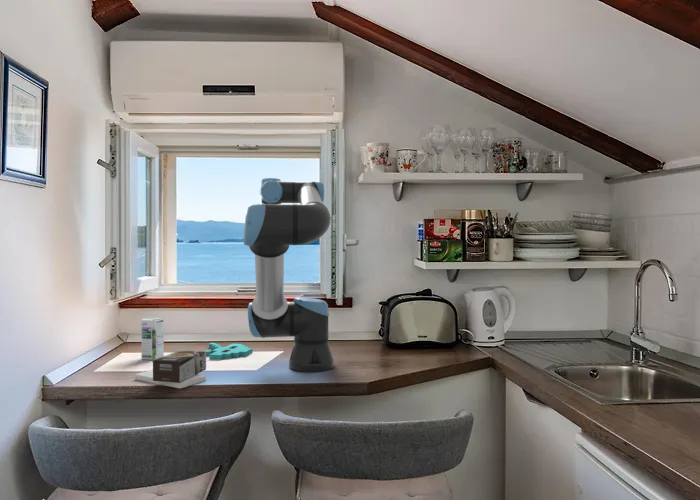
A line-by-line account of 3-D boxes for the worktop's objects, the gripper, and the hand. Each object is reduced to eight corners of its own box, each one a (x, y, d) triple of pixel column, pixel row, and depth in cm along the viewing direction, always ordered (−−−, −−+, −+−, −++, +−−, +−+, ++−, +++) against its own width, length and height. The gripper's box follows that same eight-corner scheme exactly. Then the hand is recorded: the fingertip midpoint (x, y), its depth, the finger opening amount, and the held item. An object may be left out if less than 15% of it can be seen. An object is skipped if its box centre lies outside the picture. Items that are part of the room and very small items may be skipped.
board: (205, 380, 166) (205, 375, 166) (180, 388, 157) (179, 383, 157) (161, 372, 176) (161, 367, 176) (135, 379, 167) (135, 374, 167)
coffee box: (206, 350, 173) (180, 361, 157) (206, 370, 173) (180, 383, 157) (180, 348, 175) (152, 359, 159) (180, 368, 175) (152, 381, 159)
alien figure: (186, 359, 196) (238, 362, 192) (186, 353, 196) (238, 355, 192) (211, 348, 215) (258, 350, 212) (211, 342, 215) (258, 344, 211)
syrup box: (140, 359, 194) (140, 319, 194) (151, 356, 200) (150, 317, 199) (154, 360, 192) (154, 320, 192) (164, 356, 198) (164, 317, 198)
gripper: (275, 220, 191) (275, 286, 192) (286, 221, 204) (286, 283, 204) (255, 220, 192) (255, 286, 193) (267, 221, 205) (267, 283, 206)
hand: (271, 284), depth 199 cm, fingers closed
